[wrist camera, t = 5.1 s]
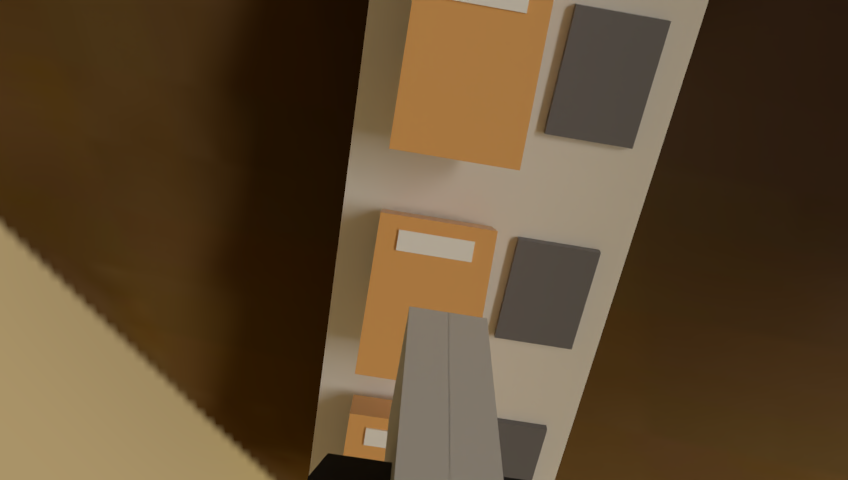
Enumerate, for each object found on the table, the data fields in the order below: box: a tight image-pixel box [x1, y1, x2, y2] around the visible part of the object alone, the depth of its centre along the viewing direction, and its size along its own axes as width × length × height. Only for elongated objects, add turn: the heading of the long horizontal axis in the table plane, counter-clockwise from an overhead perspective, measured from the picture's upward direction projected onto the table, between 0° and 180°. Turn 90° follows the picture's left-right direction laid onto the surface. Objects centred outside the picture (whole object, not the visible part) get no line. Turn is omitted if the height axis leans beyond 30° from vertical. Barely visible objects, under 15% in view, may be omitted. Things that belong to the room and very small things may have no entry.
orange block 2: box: [355, 209, 498, 380], centre depth 21 cm, size 5×3×2 cm
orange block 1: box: [389, 0, 554, 170], centre depth 18 cm, size 5×3×2 cm
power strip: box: [309, 0, 709, 480], centre depth 23 cm, size 28×9×5 cm, turn 171°
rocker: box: [343, 395, 392, 461], centre depth 24 cm, size 5×3×2 cm
